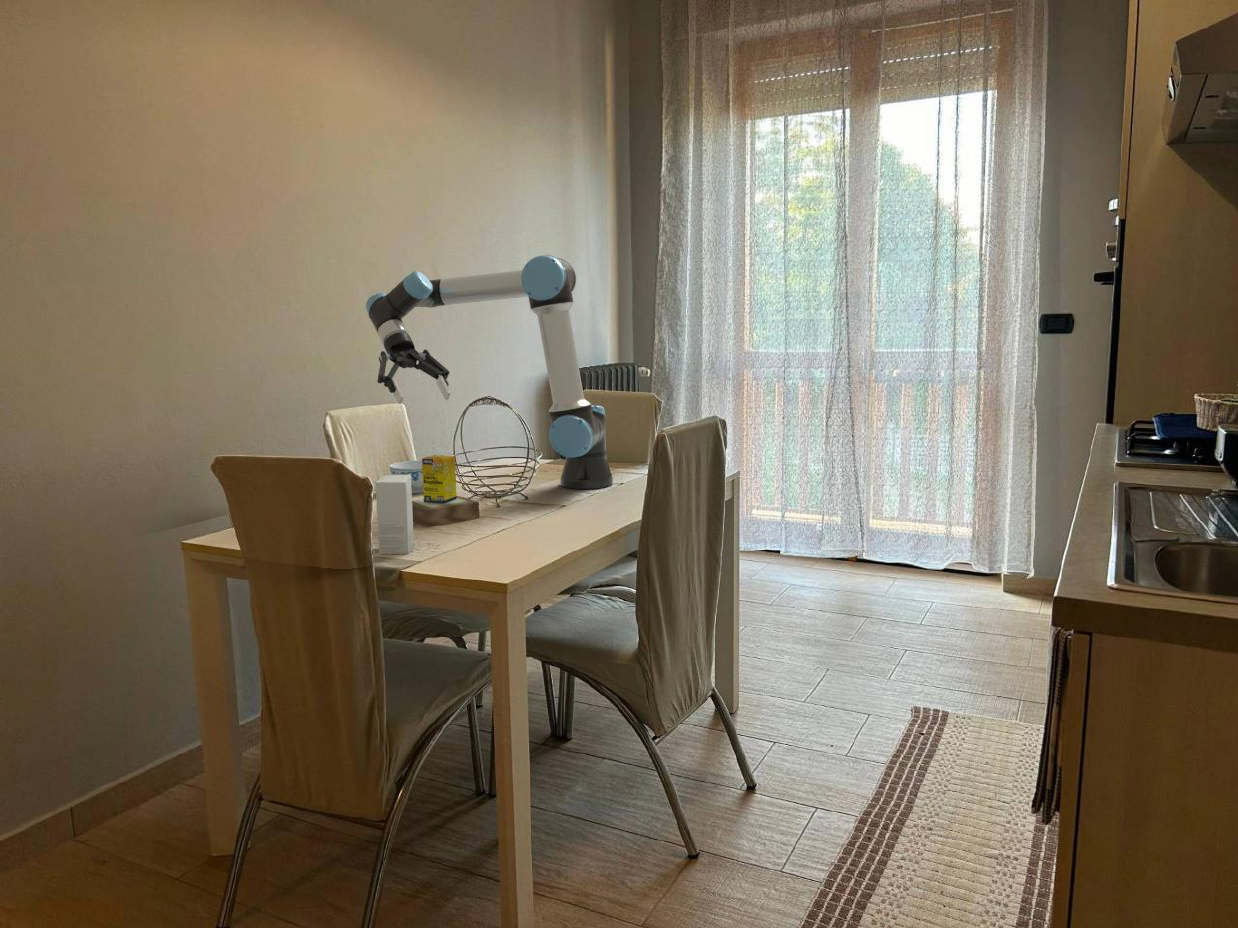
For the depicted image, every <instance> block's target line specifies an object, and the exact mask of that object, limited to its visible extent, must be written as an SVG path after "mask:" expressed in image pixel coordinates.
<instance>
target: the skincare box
mask: <svg viewBox="0 0 1238 928" xmlns="http://www.w3.org/2000/svg"><path fill="white" fill-rule="evenodd" d="M375 495H376V498H375V499H376V515H377V517H376V518H377V519H376V520H377V539H378V540H377V541H378V555H379V556H385V555H387V556H388V555H389V554H390V555H409V554H410V552H411V550H412V548H413V546H414V545H415V542H414V541H415V540H414V538H415V537H414V522H413V512H412V501H413V493H412V488H411V475H392V474H384V475H383V474H382V475H381V476H380V477H379V479H377V480H376V482H375ZM390 555H389V556H390Z"/></svg>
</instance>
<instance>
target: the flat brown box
mask: <svg viewBox="0 0 1238 928" xmlns="http://www.w3.org/2000/svg"><path fill="white" fill-rule="evenodd" d="M456 496H457V499H455V500H453V501H450V502H447V503H433V502H424V498H422V499H415V500H412V512H413V523H414V524H418V525H421V526H423V527H426V528H430V527H435V526H436V527H437V526H441V525H442V526H443V525H446V524H452V523H453V524H454V523H458V522H463V521H470V520H476V519H480V502H479V501H478V500H473V499H469V498H467V497H462V496H459V495H456Z"/></svg>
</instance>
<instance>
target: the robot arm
mask: <svg viewBox="0 0 1238 928" xmlns="http://www.w3.org/2000/svg"><path fill="white" fill-rule="evenodd" d="M576 284H577V274H576V271H575V270H574V268H573V266H572V264H570V263H569V262H568V261H567V260H565V259H563V258H559V257H556V256H554V255H550V254H545V255H544V254H542V255H537V256H534V257H533V258H531V259H529V260H528V261H527V262H526V263H525V265H524V266H523V269H522V270H521V269H518V270H512V271H503V272H502V271H501V272H493V273H484V274H476V275H468V276H467V275H465V276H457V277H450V278H449V277H448V278H441V279H440V278H438V279H428V277H427V276H425V274H424V273H422V272H420V270H419V271H418V270H414V271H412V272H410V274H407V275H406V276H405V277H404V278H403V279H402V281H400V282H399V283H398V284H397V285H396V286H395V287H394V288H392V289H391V291H389V292H387V293H384V292H376V294H375V295H373V294H372V295H371V296H369V297H368V298H367V300H366V303H365V309H366V311H367V315H368V318H369V319H370V321H371V322H372V325H373V327H374V328H375V330H376V333H377V336H378V338H379V339H380V341H381V343H382V346H383V348H384V350H385V351H383V350H381V351H380V354H379V357H378V362H379V370H378V376H377V384H383V386H384V387H385V388H388V389H387V390H388V391H389V393H391V394H392V393H393V396H394V398H395V400H396V402H397V404H399V405H401V404H402V402H403V401H404V397H405V396H404V394H403V392H402V389H401V388H400V386H399V383H398V381H397V379H396V377H395V374H396V373H397V371H398V369H399V368H402V369H406V368H410V369H413V368H414V369H416V370H420V371H422V372H423V373H425V374H427V375H428V376H429V377H431V378H433V379H435V380H436V385H437V386H438V388H439V391H440V393H441V395H442V397H443V398H444V400H445V401H448V400H449V399H450V397H451V395H452V392H451V391H450V388H449V382H448V380H447V379H448V377H449V375H450V370H448V369H447V368H446V366H444V365H442V364H441V363H440V362H439V361H438V360H437V359H435V358H434V357H433V356H432V355H431V354H430V352H429V350H428V349H423V350H422V351H421V352H420V351H418V350H416V348H415V344H414V342H413V340H412V338H411V336H410V334H409V332H408V330H407V328H406V326H405V324H404V323H403V322H404V321H403V320H402V319H403V318H404V317H405V316H407V315H408V314H409V313H410V312H412V311H413V309H415V308H429V309H432V308H437V307H443V306H450V305H460V304H469V303H470V304H472V303H479V302H490V301H498V300H499V301H500V300H501V301H502V300H508V299H509V300H510V299H518V298H528V302H529V306H530V311H531V312H532V313H534V314H535V315H536V316H537V321H538V327H539V332H540V336H541V337H540V338H541V342H542V348H543V354H544V359H545V365H546V366H545V367H546V372H547V376H548V383H549V387H550V392H551V393H550V394H551V399H552V405H551V407H550V408H549V409H548V413H549V421H550V428H549V431H548V439H549V443H550V445H551V447H552V448H553V450H554V451H555V452H556V453H557V454H559V455H561V456H562V457H565V460H564V465H563V468H562V471H561V476H560V479H559V480H560V487H563V488H567V489H575V490H576V489H577V490H589V489H592V490H594V489H601V488H602V489H603V488H606V487H607V488H608V487H610V486H612V485H613V484H614V483H613V481H614V479H613V474H612V472H611V467H610V464H609V462H608V460H607V459H608V458H607V443H606V442H607V437H606V434H607V433H606V418H607V417H606V416H607V415H606V411H605V408H604V407H603V406H602V405H592V403H591V402H589V401H588V400H587V399H586V398H585V395H584V391H583V384H582V379H581V373H580V372H581V371H580V366H579V361H578V354H577V349H576V344H575V338H574V332H573V331H574V330H573V326H572V320H571V314H570V310H571V308H572V306H573V305H574V298H573V291H574V289H575V287H576ZM388 360H389V361H391V362H392V363H393V365H392V367H391V368H390V370H389V372H388V374H387V375H385V374H386V369H387V367H386V366H387V362H388ZM417 362H418V363H417ZM394 377H395V378H394Z"/></svg>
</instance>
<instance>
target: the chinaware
mask: <svg viewBox="0 0 1238 928" xmlns="http://www.w3.org/2000/svg"><path fill="white" fill-rule="evenodd" d="M388 468H389V470H390V473H391V474H390V475H411V488H412V494H422V493H423V473H422V459H421V460H418V459H417V460H406V461H399V462H395V463H391V464H389V467H388ZM423 494H424V493H423Z"/></svg>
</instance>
